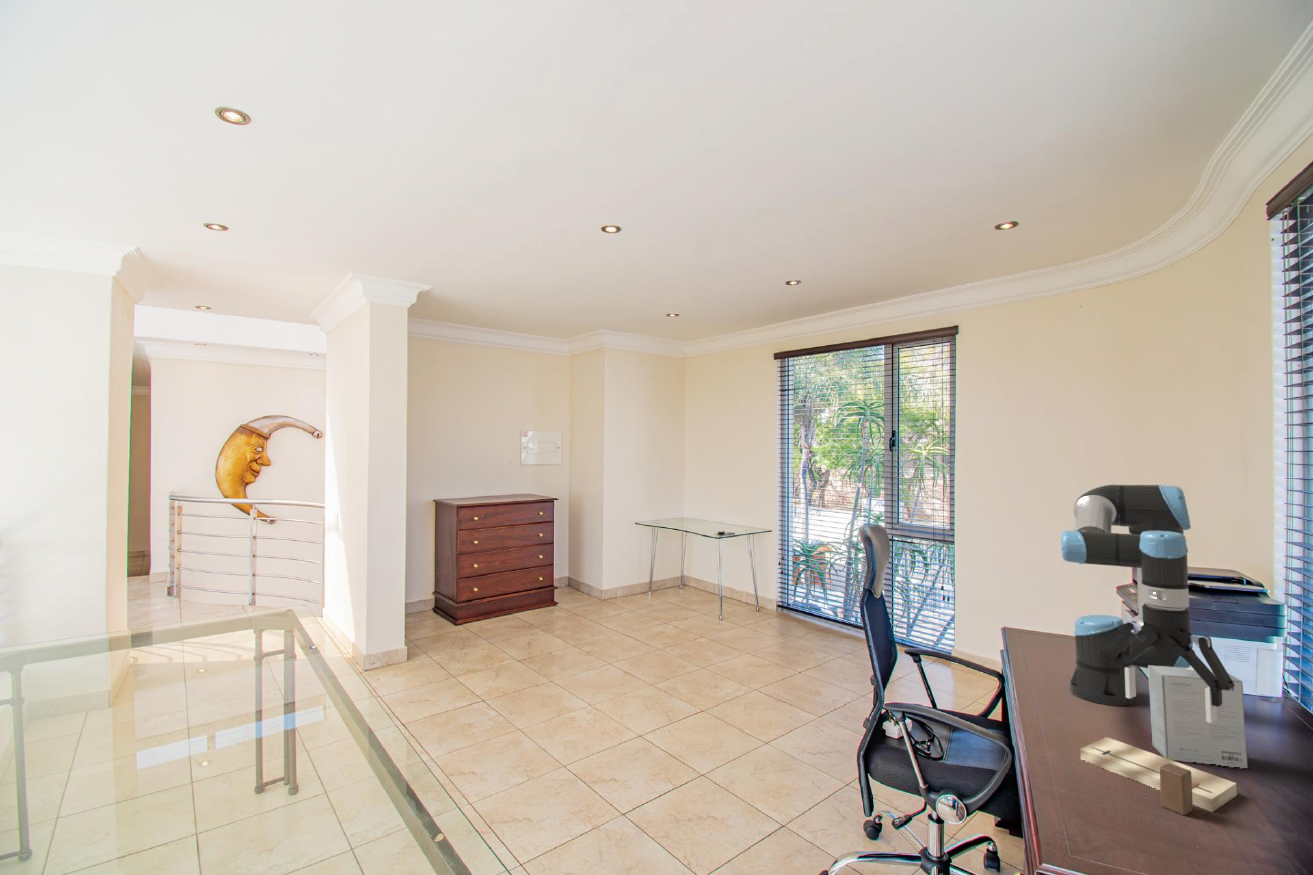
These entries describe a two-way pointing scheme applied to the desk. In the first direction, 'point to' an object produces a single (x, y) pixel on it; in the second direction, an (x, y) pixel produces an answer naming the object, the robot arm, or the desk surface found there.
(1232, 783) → the birch board
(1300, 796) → the desk surface
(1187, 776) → the wooden block
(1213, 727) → the hard drive box
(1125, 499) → the robot arm
